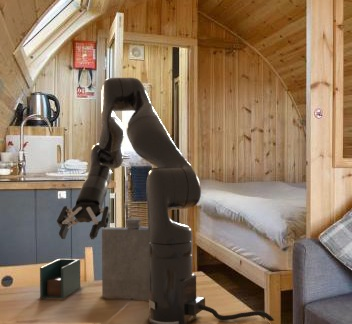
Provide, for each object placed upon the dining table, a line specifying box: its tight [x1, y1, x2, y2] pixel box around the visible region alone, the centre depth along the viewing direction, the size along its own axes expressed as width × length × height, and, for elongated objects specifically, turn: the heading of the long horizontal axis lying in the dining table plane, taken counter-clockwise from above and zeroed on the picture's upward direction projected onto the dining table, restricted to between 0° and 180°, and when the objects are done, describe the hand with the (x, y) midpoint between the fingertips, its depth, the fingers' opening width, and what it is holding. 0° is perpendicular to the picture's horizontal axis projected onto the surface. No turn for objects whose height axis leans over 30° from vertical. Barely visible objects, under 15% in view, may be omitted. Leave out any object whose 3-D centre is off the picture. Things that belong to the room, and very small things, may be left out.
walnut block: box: [47, 276, 61, 296], centre depth 119 cm, size 4×4×4 cm
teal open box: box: [39, 258, 81, 299], centre depth 120 cm, size 10×6×8 cm, turn 177°
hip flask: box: [101, 217, 150, 302], centre depth 116 cm, size 16×4×20 cm, turn 81°
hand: (76, 237), depth 130 cm, fingers open, 8 cm apart
